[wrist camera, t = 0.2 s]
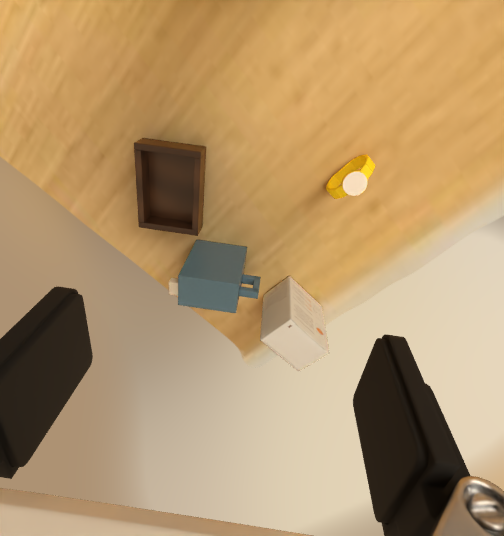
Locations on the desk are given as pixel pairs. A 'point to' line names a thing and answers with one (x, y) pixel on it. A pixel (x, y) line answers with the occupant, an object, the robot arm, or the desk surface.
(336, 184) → the watch
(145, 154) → the holder
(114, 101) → the desk surface
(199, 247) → the blue box with handle
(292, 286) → the small box
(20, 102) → the desk surface
